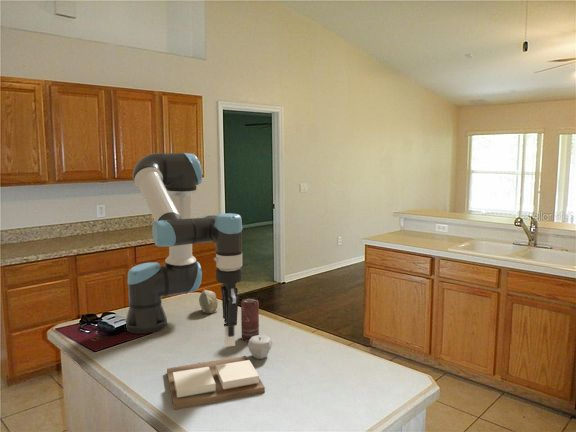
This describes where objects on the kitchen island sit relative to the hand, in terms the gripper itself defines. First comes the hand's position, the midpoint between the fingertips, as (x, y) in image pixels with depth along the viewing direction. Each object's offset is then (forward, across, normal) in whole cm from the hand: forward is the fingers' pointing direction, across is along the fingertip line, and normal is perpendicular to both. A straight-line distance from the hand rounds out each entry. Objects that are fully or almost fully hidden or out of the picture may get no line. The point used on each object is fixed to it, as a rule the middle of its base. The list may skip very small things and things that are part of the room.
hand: (230, 345), depth 130 cm
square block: (+6, +3, -12) cm, 13 cm away
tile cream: (+6, +3, 0) cm, 6 cm away
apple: (+9, -6, +11) cm, 15 cm away
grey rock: (+9, -53, +3) cm, 54 cm away
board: (+8, +5, -6) cm, 11 cm away
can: (+9, -21, +12) cm, 26 cm away
